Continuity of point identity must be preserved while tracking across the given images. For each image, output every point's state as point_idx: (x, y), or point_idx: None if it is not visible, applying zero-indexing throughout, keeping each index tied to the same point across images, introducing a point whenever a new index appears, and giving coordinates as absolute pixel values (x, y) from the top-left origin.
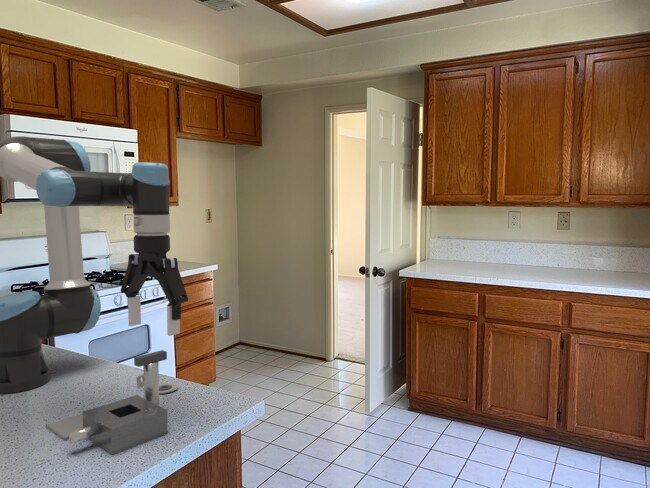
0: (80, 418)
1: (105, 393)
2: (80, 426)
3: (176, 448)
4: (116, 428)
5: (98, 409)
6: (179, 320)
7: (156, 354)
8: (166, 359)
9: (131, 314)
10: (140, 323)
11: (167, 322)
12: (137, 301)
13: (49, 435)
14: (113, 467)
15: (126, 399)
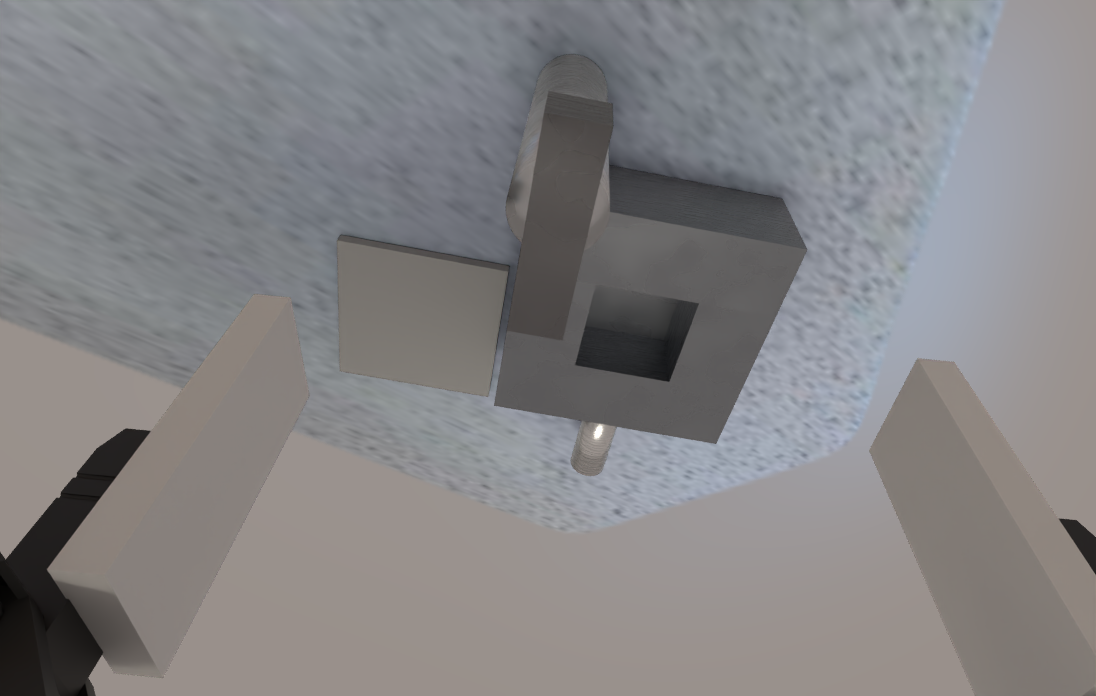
0: (382, 294)
1: (137, 31)
2: (449, 331)
3: (894, 268)
4: (722, 429)
5: (525, 370)
6: (1021, 468)
7: (591, 216)
8: (610, 106)
9: (261, 476)
10: (291, 306)
11: (919, 556)
12: (167, 541)
13: (413, 389)
14: (764, 419)
15: None
